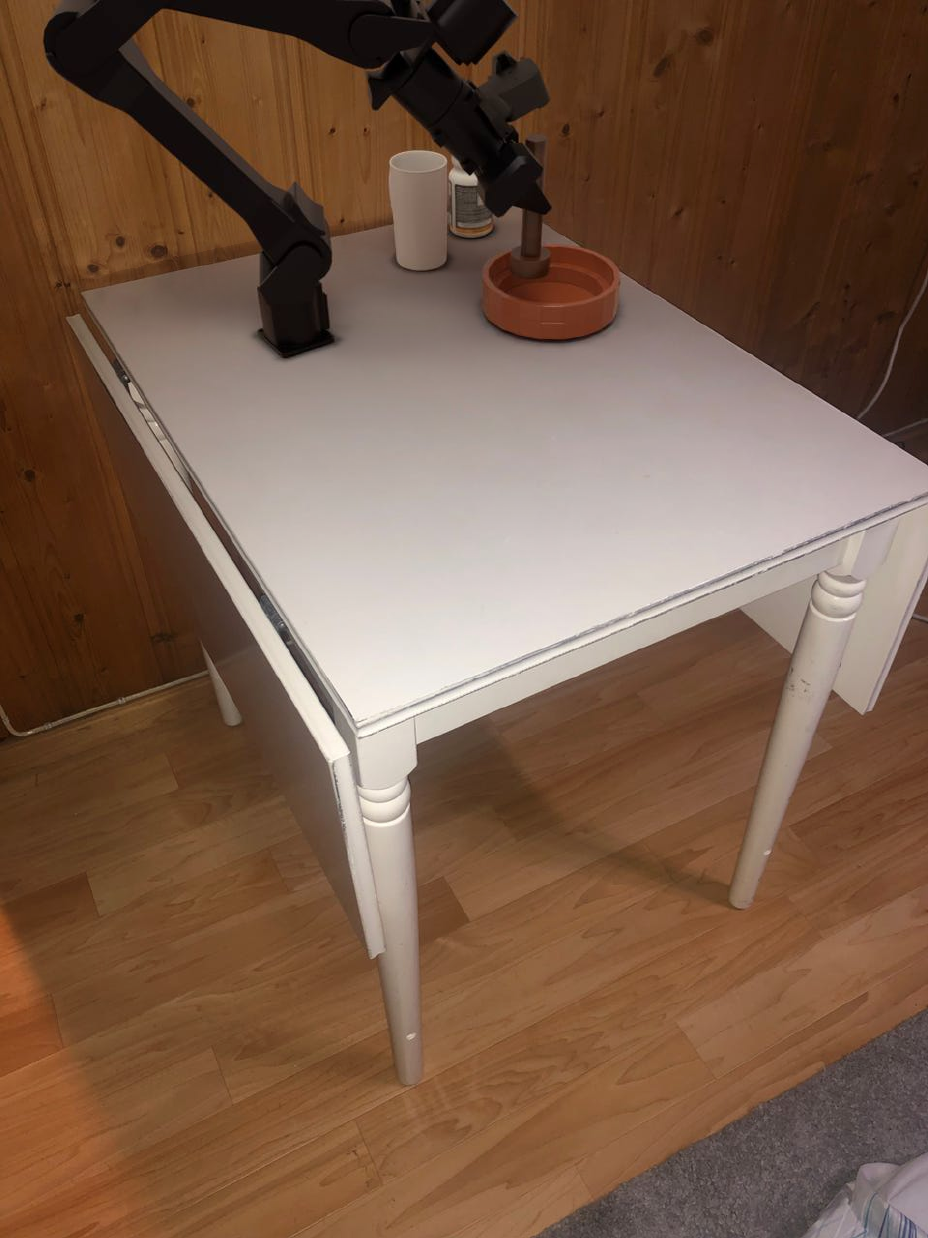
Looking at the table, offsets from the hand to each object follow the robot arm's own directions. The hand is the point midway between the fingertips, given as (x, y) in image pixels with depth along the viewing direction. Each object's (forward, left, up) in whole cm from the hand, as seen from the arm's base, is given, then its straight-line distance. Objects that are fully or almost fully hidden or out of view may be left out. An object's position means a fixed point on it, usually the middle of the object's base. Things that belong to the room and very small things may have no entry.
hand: (545, 206), depth 107 cm
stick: (-1, +1, -7) cm, 7 cm away
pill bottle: (+7, +24, -13) cm, 28 cm away
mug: (-3, +22, -13) cm, 25 cm away
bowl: (+2, +1, -13) cm, 13 cm away
